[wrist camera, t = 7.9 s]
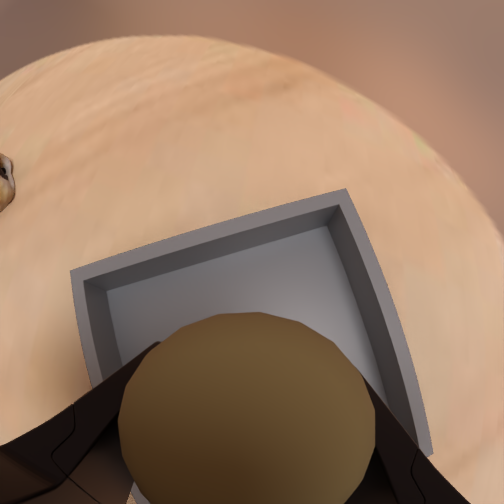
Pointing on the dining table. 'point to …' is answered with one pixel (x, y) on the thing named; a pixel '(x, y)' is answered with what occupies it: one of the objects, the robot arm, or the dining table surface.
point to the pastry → (5, 182)
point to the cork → (246, 416)
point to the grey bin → (256, 294)
